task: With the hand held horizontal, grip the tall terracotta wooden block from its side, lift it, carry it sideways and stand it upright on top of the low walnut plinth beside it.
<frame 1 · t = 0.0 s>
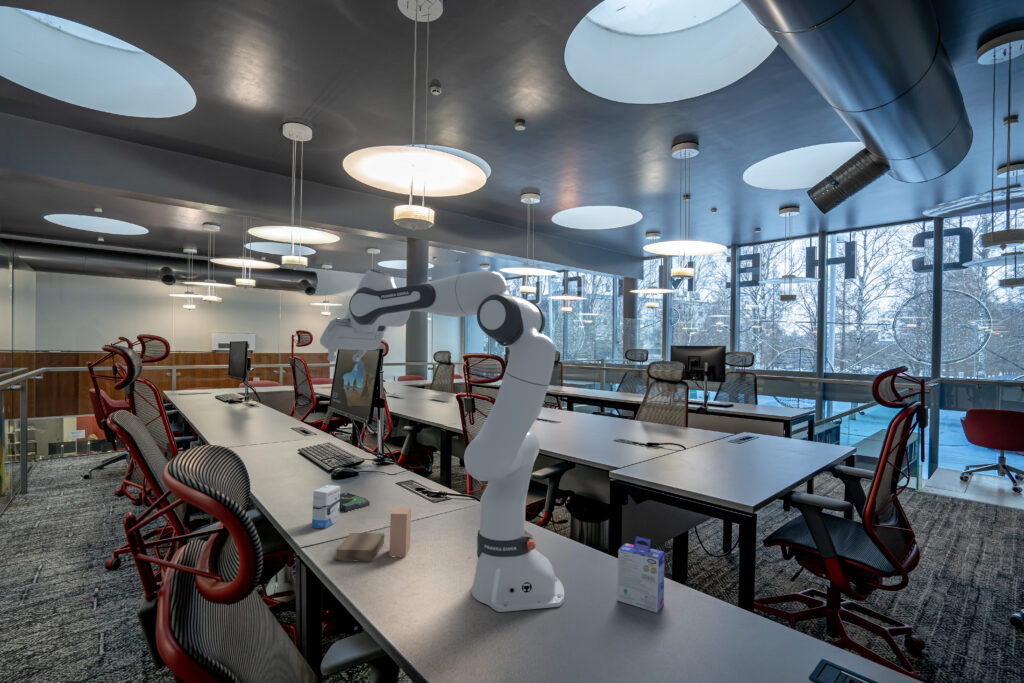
hand: (343, 360, 141), 54 cm above the table, tool tilted 30°, fingers open, 8 cm apart
terracotta block: (399, 552, 134), on the table
ink cartridge box: (640, 603, 110), on the table
disk drive: (346, 506, 174), on the table
plinth: (361, 551, 134), on the table
ink box: (325, 524, 154), on the table
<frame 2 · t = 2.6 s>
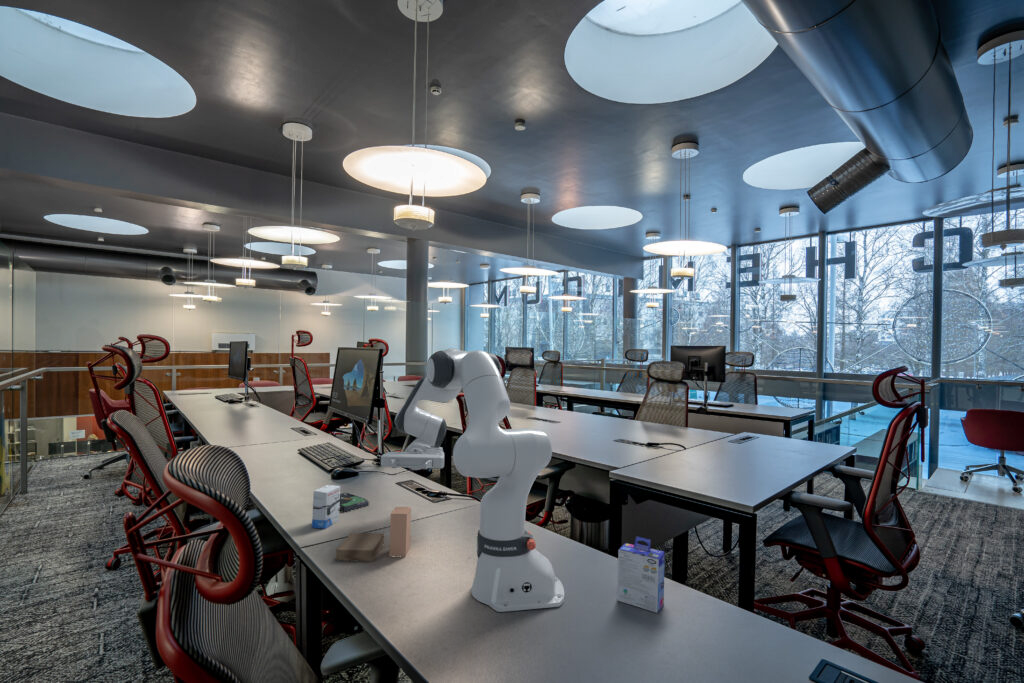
hand: (408, 466, 145), 22 cm above the table, tool horizontal, fingers open, 8 cm apart
nothing on the table moved.
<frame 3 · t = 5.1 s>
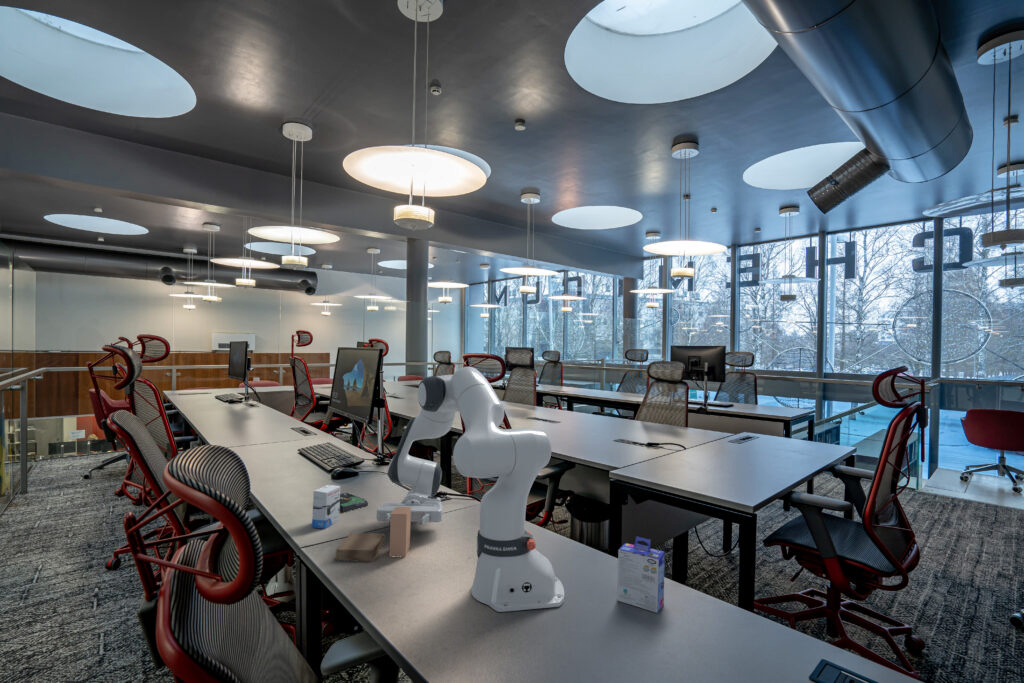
hand: (405, 521, 140), 7 cm above the table, tool horizontal, fingers open, 8 cm apart
nothing on the table moved.
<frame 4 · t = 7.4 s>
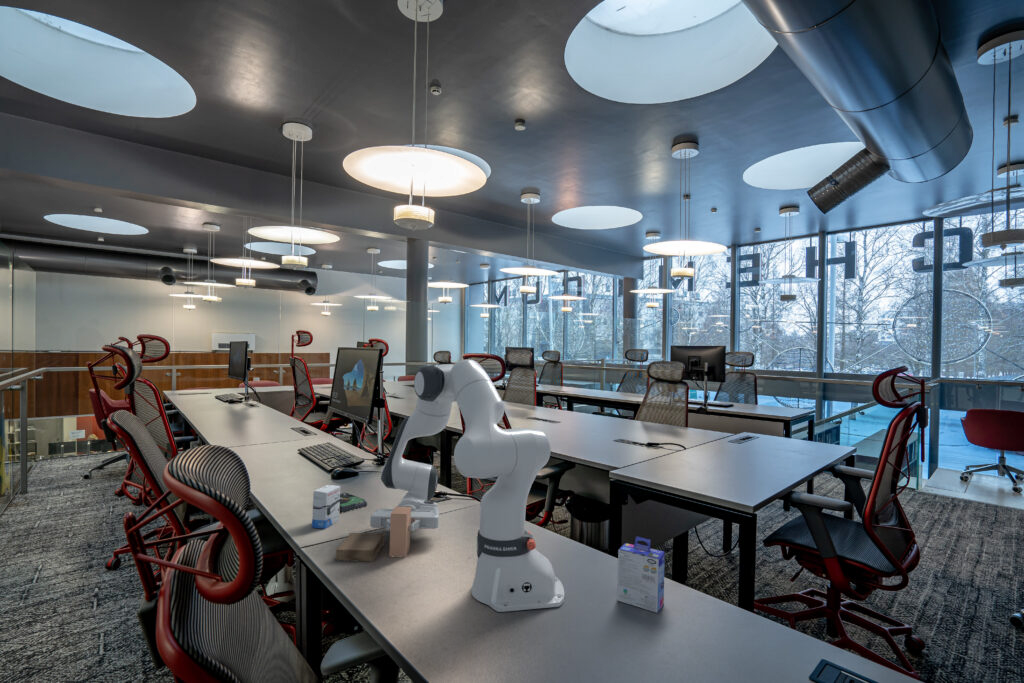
hand: (400, 528, 134), 7 cm above the table, tool horizontal, fingers closed on terracotta block, 4 cm apart
terracotta block: (399, 552, 134), on the table, touching gripper
everything else where it was.
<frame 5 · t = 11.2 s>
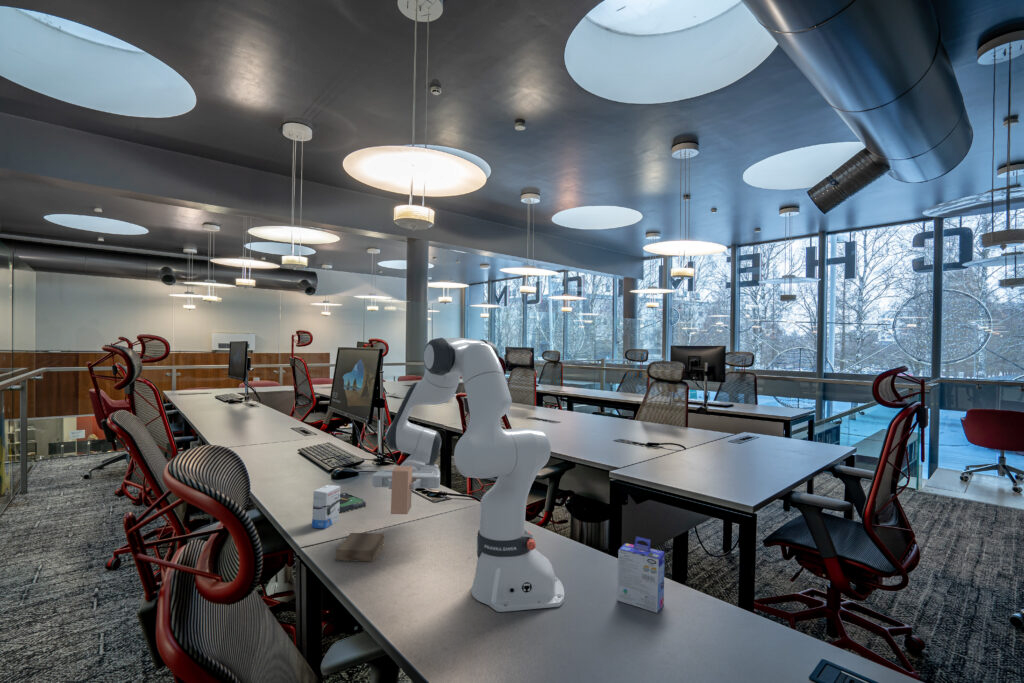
hand: (401, 486, 134), 19 cm above the table, tool horizontal, fingers closed on terracotta block, 4 cm apart
terracotta block: (401, 510, 134), point 12 cm above the table, touching gripper
when the fingers open (11 cm above the table, at t = 15.1 s): terracotta block drops 1 cm, resting on plinth.
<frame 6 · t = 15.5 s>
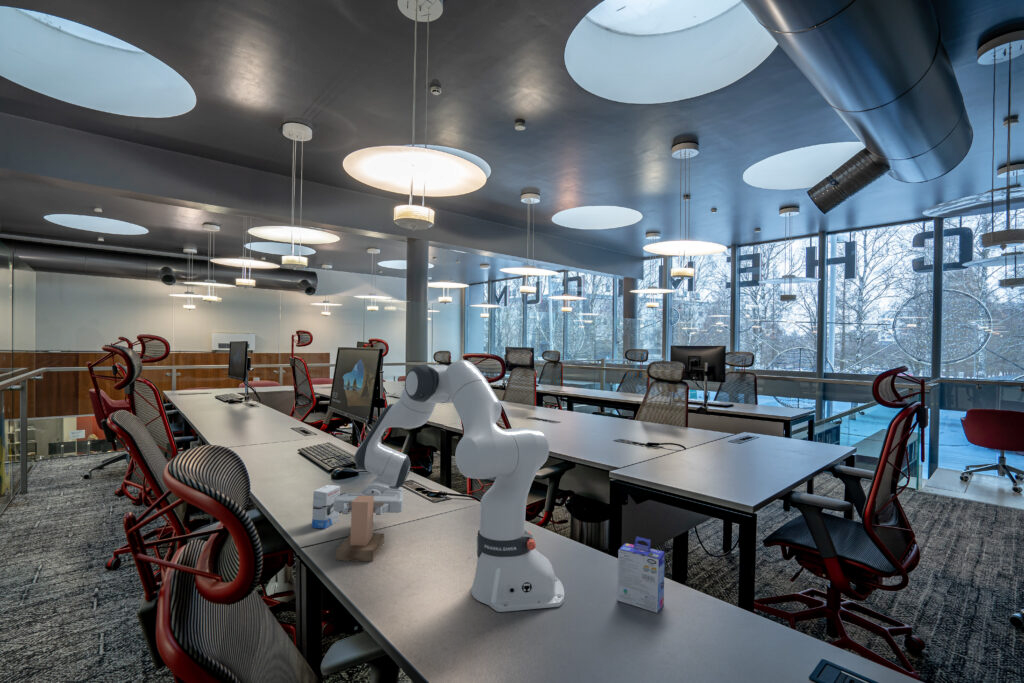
hand: (361, 511, 134), 11 cm above the table, tool horizontal, fingers open, 8 cm apart
terracotta block: (361, 541, 134), point 3 cm above the table, touching plinth
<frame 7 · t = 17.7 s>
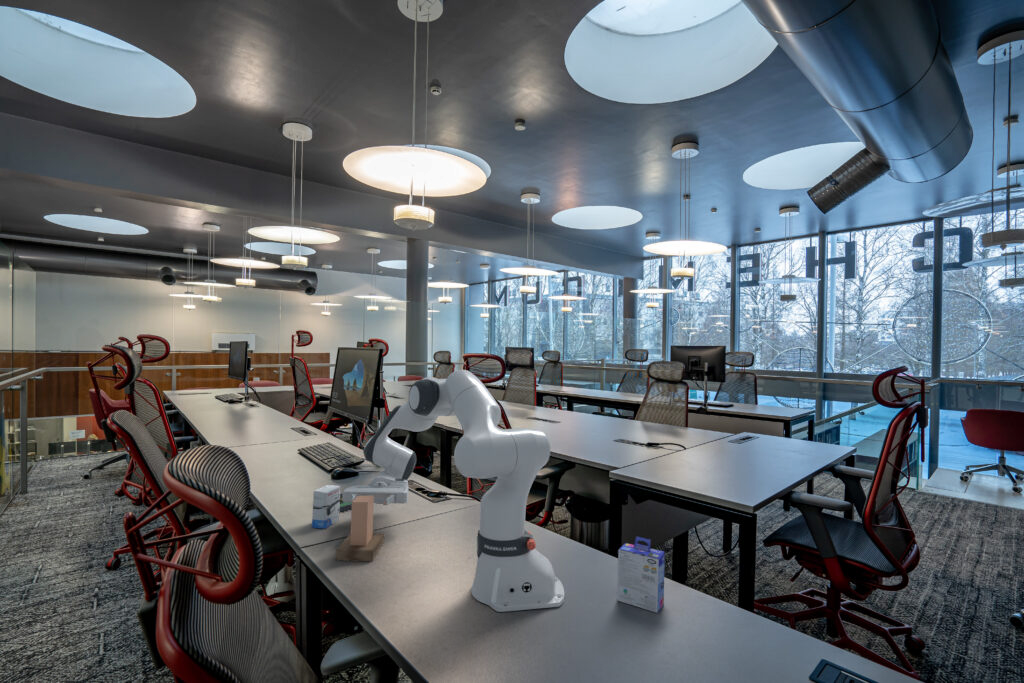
hand: (369, 502, 141), 12 cm above the table, tool horizontal, fingers open, 8 cm apart
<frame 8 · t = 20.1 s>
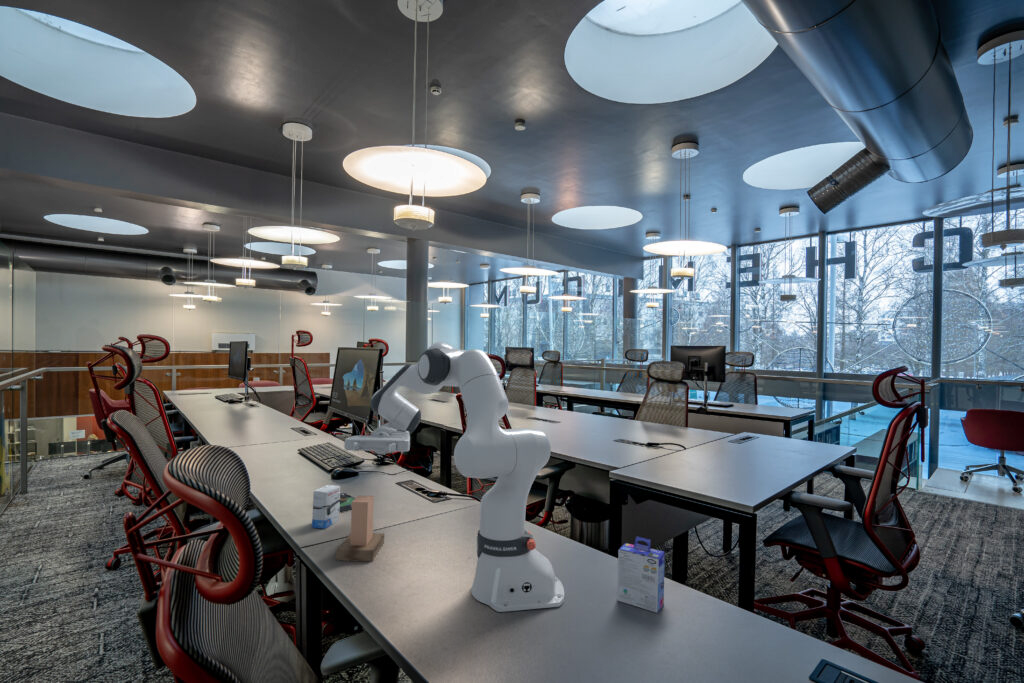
hand: (371, 448, 142), 28 cm above the table, tool horizontal, fingers open, 8 cm apart
at the end: terracotta block 0.0 cm off-centre on the plinth, point 3.0 cm above the plinth's base; terracotta block tilted 0°; the gripper is holding nothing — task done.
